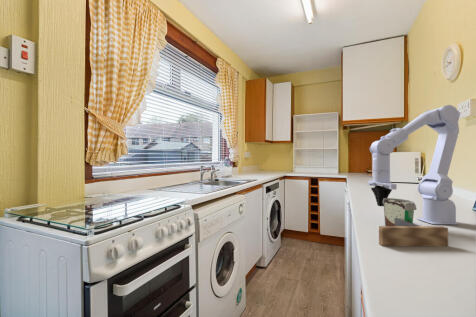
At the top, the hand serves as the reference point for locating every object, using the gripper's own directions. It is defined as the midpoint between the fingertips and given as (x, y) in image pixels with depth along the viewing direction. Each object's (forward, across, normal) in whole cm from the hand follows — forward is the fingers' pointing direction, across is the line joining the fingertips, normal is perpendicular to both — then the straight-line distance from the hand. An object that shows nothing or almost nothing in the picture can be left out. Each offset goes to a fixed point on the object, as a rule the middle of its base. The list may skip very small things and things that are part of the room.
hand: (381, 206), depth 89 cm
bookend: (+6, +20, -7) cm, 22 cm away
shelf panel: (+6, +26, -7) cm, 27 cm away
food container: (+6, +12, 0) cm, 13 cm away
